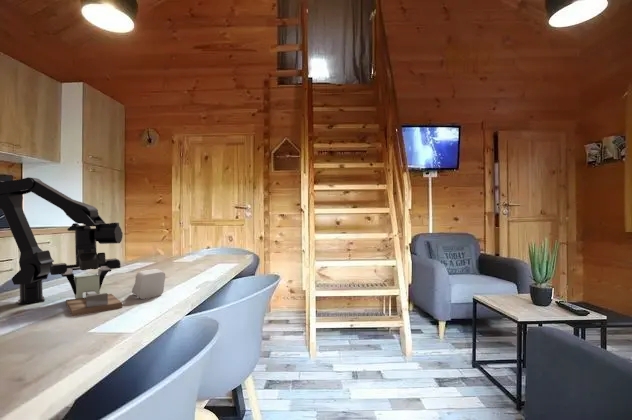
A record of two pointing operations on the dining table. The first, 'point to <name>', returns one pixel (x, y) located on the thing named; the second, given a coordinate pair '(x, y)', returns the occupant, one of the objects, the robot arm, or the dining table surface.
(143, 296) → the grey rounded block piece
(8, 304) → the dining table surface
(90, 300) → the cleat board
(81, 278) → the block
